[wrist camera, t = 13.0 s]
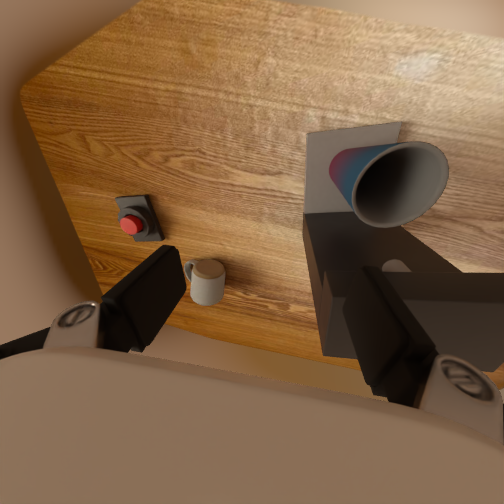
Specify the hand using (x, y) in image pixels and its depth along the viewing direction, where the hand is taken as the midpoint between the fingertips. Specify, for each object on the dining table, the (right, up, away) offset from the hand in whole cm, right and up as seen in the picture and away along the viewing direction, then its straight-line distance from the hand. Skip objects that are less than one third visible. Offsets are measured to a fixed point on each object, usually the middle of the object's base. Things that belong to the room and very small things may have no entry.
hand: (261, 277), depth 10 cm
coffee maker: (+14, +12, +21) cm, 28 cm away
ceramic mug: (-11, -3, +35) cm, 37 cm away
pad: (-24, +9, +30) cm, 40 cm away
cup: (+14, +14, +18) cm, 27 cm away
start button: (-25, +7, +28) cm, 38 cm away
